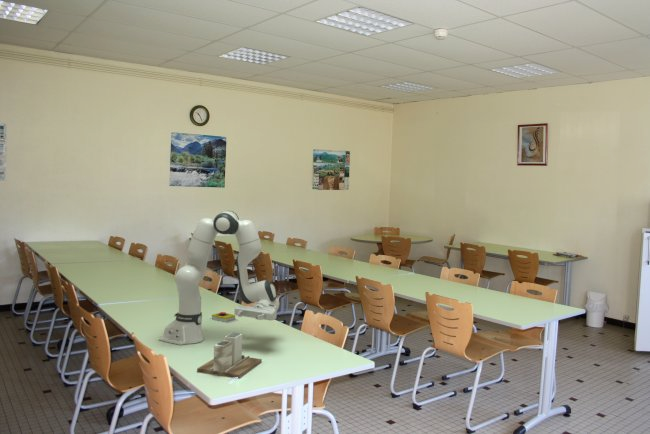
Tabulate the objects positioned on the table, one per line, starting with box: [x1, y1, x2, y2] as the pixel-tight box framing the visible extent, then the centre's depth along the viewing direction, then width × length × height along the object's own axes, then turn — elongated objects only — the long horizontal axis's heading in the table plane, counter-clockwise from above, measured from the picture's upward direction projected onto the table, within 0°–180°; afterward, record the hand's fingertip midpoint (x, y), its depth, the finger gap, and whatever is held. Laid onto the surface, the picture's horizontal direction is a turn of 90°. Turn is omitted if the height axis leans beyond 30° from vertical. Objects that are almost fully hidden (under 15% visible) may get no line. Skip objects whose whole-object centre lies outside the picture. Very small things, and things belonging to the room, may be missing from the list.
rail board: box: [196, 339, 263, 379], centre depth 237 cm, size 20×22×13 cm
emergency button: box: [209, 311, 238, 324], centre depth 318 cm, size 9×4×15 cm
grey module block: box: [224, 332, 243, 365], centre depth 239 cm, size 5×7×12 cm
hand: (248, 316), depth 253 cm, fingers open, 8 cm apart
